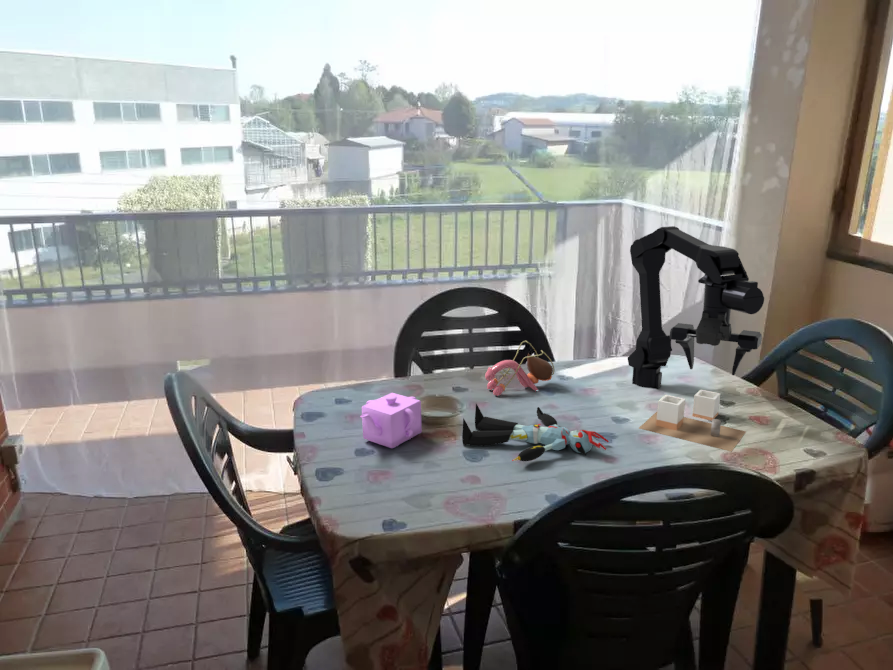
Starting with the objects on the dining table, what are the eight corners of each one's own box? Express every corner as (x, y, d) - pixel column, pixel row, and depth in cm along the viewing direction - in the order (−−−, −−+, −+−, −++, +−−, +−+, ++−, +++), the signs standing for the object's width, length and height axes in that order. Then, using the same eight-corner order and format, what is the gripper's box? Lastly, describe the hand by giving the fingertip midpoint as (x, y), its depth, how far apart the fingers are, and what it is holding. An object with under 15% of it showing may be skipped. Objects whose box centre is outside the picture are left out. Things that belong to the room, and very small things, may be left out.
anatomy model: (470, 375, 177) (509, 326, 177) (508, 404, 184) (546, 357, 184) (486, 389, 167) (527, 337, 167) (526, 420, 174) (566, 370, 173)
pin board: (638, 433, 150) (639, 413, 149) (657, 415, 159) (658, 397, 158) (730, 456, 139) (733, 436, 137) (745, 436, 148) (747, 416, 146)
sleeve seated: (656, 425, 151) (658, 400, 149) (663, 418, 155) (665, 394, 153) (676, 430, 148) (678, 405, 147) (683, 423, 152) (685, 398, 150)
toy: (486, 389, 161) (615, 398, 150) (488, 419, 163) (615, 430, 152) (450, 432, 137) (599, 446, 127) (452, 466, 140) (599, 483, 129)
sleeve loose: (692, 419, 156) (694, 395, 154) (698, 412, 160) (700, 389, 158) (712, 423, 153) (714, 399, 152) (717, 417, 157) (720, 393, 155)
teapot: (384, 463, 138) (382, 418, 135) (337, 446, 146) (334, 403, 143) (437, 433, 152) (437, 391, 149) (392, 418, 160) (390, 379, 157)
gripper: (664, 308, 147) (660, 375, 151) (755, 317, 137) (749, 388, 141) (678, 299, 156) (674, 362, 160) (765, 306, 146) (758, 374, 150)
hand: (712, 371), depth 153 cm, fingers open, 9 cm apart
